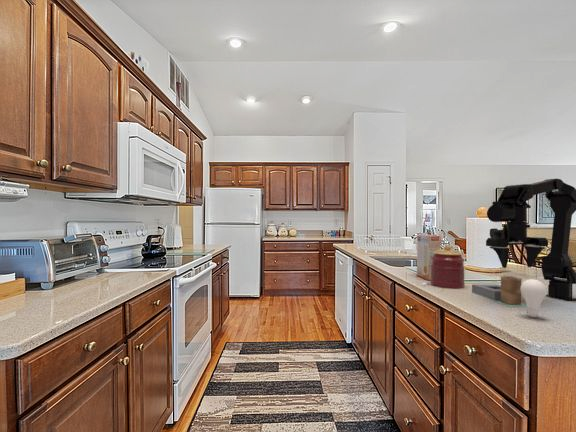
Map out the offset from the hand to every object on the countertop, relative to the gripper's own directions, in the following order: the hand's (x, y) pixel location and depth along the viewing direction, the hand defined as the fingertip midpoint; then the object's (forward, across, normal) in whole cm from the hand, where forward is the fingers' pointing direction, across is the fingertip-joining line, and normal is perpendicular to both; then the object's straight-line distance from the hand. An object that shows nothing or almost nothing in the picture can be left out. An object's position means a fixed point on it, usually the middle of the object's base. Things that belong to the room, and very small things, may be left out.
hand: (516, 267), depth 112 cm
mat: (+12, +4, +3) cm, 13 cm away
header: (+12, +1, -8) cm, 15 cm away
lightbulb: (+12, +8, +16) cm, 21 cm away
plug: (+11, +4, +2) cm, 13 cm away
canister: (+12, +8, -27) cm, 31 cm away
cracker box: (+12, +6, -46) cm, 48 cm away
